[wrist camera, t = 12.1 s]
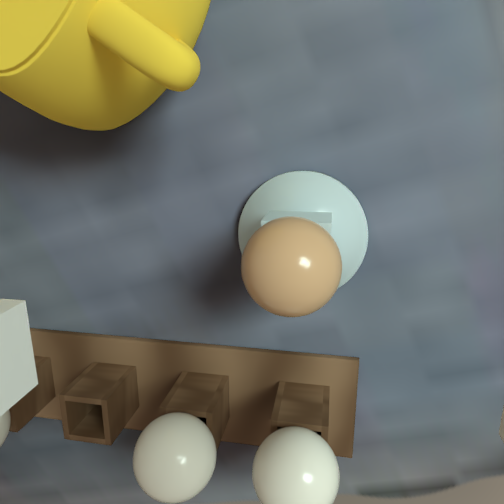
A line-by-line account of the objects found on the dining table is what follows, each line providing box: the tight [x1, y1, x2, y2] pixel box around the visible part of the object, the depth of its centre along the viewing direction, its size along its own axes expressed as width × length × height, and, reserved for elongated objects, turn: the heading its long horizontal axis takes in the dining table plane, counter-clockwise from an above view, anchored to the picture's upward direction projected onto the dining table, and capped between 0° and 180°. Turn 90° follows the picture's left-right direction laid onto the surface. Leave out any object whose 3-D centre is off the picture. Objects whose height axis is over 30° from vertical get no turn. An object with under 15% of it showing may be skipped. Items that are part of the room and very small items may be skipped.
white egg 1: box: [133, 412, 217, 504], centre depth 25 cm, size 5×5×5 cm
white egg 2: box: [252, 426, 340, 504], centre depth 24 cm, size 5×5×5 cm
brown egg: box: [241, 216, 342, 317], centre depth 21 cm, size 5×5×5 cm
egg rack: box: [9, 328, 359, 458], centre depth 30 cm, size 28×8×5 cm, turn 89°
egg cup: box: [238, 170, 368, 289], centre depth 25 cm, size 8×8×5 cm
